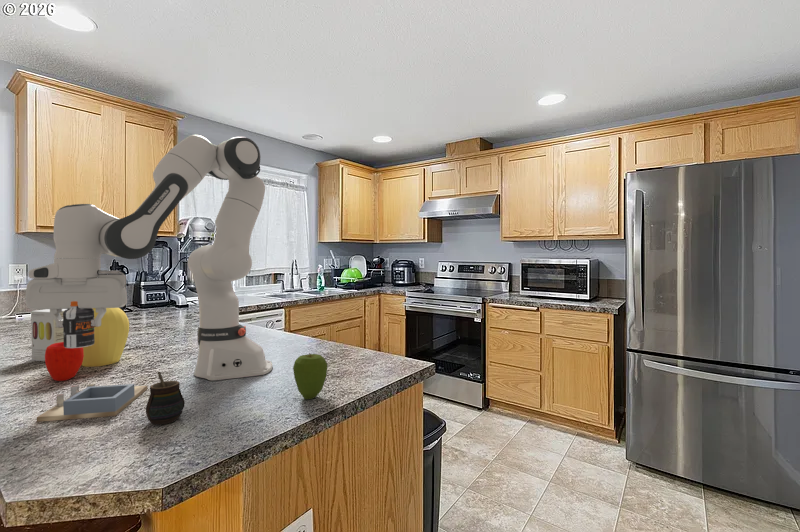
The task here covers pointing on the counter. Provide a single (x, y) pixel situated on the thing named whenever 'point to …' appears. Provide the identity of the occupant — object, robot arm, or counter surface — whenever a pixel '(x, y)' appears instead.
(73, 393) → the clips
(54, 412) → the board
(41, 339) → the supplement box
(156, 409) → the mate gourd
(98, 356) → the vase
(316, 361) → the apple
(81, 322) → the pill bottle
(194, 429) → the counter surface
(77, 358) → the apple
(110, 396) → the end holder
